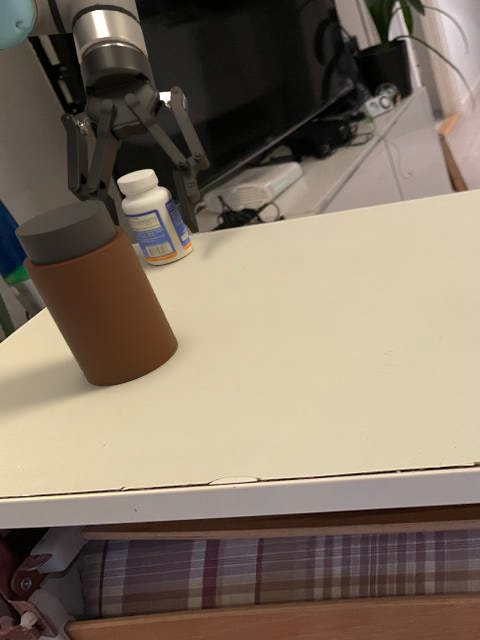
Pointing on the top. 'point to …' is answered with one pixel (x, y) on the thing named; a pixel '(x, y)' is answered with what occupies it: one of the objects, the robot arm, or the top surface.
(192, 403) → the top surface
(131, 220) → the pill bottle
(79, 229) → the brown bottle
